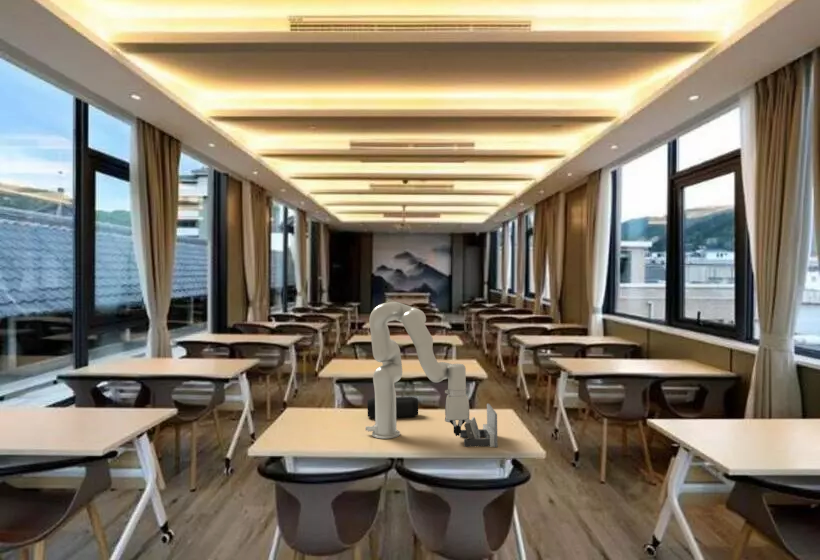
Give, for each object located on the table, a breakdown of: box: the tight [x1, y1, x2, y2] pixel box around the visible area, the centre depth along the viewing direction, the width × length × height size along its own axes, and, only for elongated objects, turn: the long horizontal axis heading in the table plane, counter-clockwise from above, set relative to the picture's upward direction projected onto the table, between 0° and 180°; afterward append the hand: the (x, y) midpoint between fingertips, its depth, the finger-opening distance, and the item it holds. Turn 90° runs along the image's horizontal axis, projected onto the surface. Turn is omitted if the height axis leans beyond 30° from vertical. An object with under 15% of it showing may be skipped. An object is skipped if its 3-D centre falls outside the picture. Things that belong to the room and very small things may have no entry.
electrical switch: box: [463, 416, 482, 439], centre depth 246 cm, size 9×5×9 cm, turn 165°
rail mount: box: [459, 403, 498, 448], centre depth 244 cm, size 14×19×14 cm
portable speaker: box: [367, 396, 419, 419], centre depth 288 cm, size 26×10×10 cm, turn 94°
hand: (457, 434), depth 244 cm, fingers closed
